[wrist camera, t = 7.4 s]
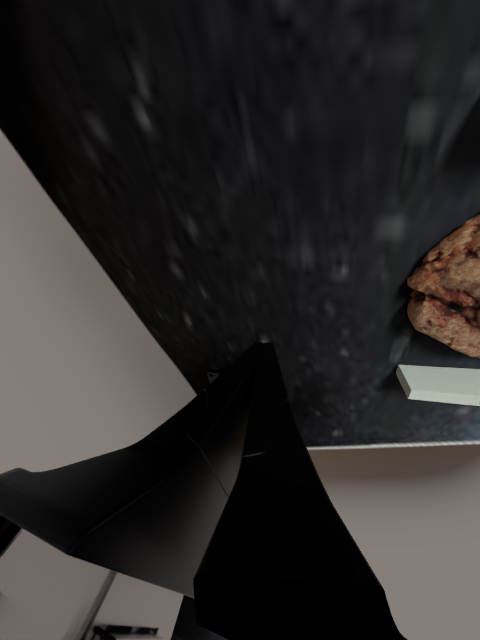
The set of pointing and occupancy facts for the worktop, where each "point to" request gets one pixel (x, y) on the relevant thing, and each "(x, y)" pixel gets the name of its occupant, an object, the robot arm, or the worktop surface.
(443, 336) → the cookie
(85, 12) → the worktop surface
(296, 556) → the robot arm
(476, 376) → the box
